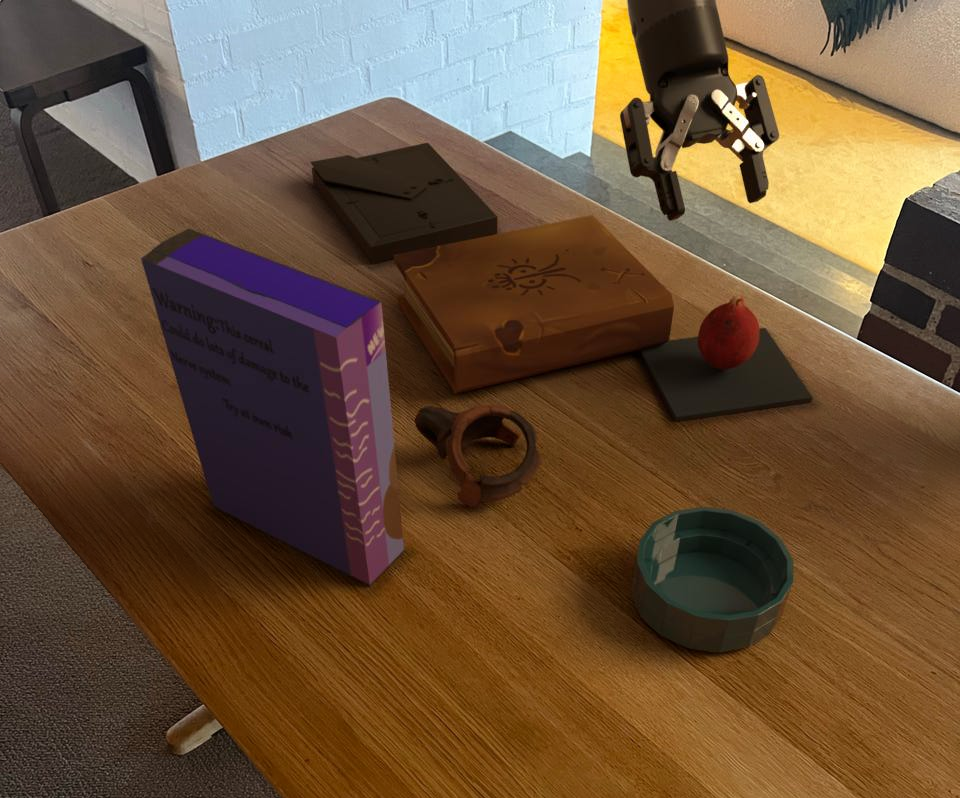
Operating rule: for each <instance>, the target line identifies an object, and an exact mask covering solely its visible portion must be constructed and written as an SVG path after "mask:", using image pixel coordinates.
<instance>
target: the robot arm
mask: <svg viewBox="0 0 960 798" xmlns="http://www.w3.org/2000/svg"><path fill="white" fill-rule="evenodd" d="M626 4H627V13H628V19H629V24H630V28H631V30H630V31H631V34H632V37H633V40H634V44H635V49H636V54H637V58H638V61H639V65H640V70H641V73H642V78H643V82H644V87H645V90H646V93H647V94H648V95H649V101H643V100H642V99H641V98H639V97H633V98H632V99H631V100H630V101H629V103H627V105H626V106H625V107H624V108H623V110H621V112H620V113H619V119H620V124H621V130H622V136H623V140H624V146H625V151H626V156H627V162H628V167H629V172H630V174H631V176H632V177H633V178H640V177H645V178H649V179H651V181H653V184H654V188H655V193H656V197H657V200H658V203H659V204H658V205H659V209H660V212H661V213H662V215H663V216H666V218H667V220H668V221H670V222H671V221H676V220H678V219H679V218H681V217H682V216H683V215H684V214H685V212H686V207H685V202H684V198H683V194H682V191H681V186H680V182H679V178H678V173H677V170H673V167H674V166H675V161H676V159H677V157H678V154H679V151H680V149H686V148H691V147H692V146H694V145H696V144H701V145H702V144H703V145H706V144H710V143H711V144H712V143H714V141H715V142H717V144H719V145H720V146H721V147H722V148H724V149H729V150H730V151H731V153H733V154H734V155H735V156H736V157H737V158H738V159H739V160H740V161H741V163H740V164H739V165H738V166H739V170H740V174H741V179H742V183H743V188H744V191H745V196H746V200H747V203H749V204H754V203H758V202H759V201H761V200H763V199H764V198H765V197H766V196H767V190H769V187H770V186H769V184H770V182H769V178H768V173H767V168H766V165H765V160H764V151H765V150H766V149H767V148H769V147H770V146H771V145H773V144H774V143H775V142H777V141H778V140H779V138H780V131H779V128H778V124H777V121H776V117H775V114H774V110H773V107H772V102H771V100H770V95H769V91H768V88H767V84H766V81H765V79H764V77H763V76H762V75H761V74H756V75H755V76H753V77H752V78H750V80H748V81H745V82H741V83H738V84H735V83H734V81H733V80H732V79H731V77H730V73H729V54H728V50H727V46H726V45H727V44H726V41H725V37H724V32H723V28H722V23H721V19H720V14H719V10H718V6H717V1H716V0H626ZM736 102H737V103H738V108H739V109H740V110H743V112H744V115H743V114H742V113H741V112H740V111H739V110H738V109H737V108H736V107H735V105H736ZM651 120H652V121H653V123H655V124H656V125H657V126H658V128H660V129H661V130H662V133H661V136H660V139H659V141H658V143H657V146H656V149H655V151H654V154H653V150H652V144H651V139H650V132H649V128H648V125H650V122H651ZM728 125H729V126H730V127H731V129H728ZM654 155H655V156H654Z"/></svg>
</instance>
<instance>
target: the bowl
mask: <svg viewBox="0 0 960 798" xmlns="http://www.w3.org/2000/svg"><path fill="white" fill-rule="evenodd" d="M632 576H633V578H632V585H631V592H630V593H631V597H632V599H633V602H634V604H635V607H636V609H637V612H638V614H639V616H640V618H641V619H642V620H643V621H644V622H645V623H647V625H649V627H650V628H652V629H653V630H654V631H655V633H657V635H659V636H661V637H663V638H664V639H667V640H669V641H671V642H674V643H676V644H678V645H680V646H683V647H685V648H686V649H690V650H697V651H705V652H712V653H724V652H730V651H736V650H741V649H747V648H750V647H751V646H753V645H755V644H756V643H758V642H760V641H761V640H763V639H765V638H766V637H768V636H770V635H771V634H772V632H773V631H774V630H775V629H774V628H775V627H776V625H777V623H778V622H779V621H780V619H781V618H782V616H783V613H784V610H785V608H786V604H787V601H788V599H789V596H790V593H791V590H792V588H793V585H794V580H795V577H794V559H793V557H792V555H791V553H790V551H789V550H788V548H787V546H786V545H785V542H784V541H783V539H782V538H781V537H780V536H779V535H778V534H777V533H775V532H774V531H773V530H771V528H769V527H768V526H767V525H765V524H764V523H763V522H762V521H760V520H759V519H757V518H756V519H755V518H753V517H751V516H748V515H745V514H743V513H740V512H738V511H737V510H734V509H729V508H728V509H727V508H718V507H710V506H697V507H691V508H685V509H684V508H683V509H679V510H674V511H672V512H670V513H668V514H666V515H664V516H663V517H661V518H659V519H657V520H655V521H654V522H652V523H651V525H650V526H649V527H648V528H647V530H646V531H645V532H644V533H643V535H642V537H641V538H640V539H639V541H638V545H637V552H636V558H635V563H634V570H633V575H632Z"/></svg>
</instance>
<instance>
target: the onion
mask: <svg viewBox="0 0 960 798" xmlns="http://www.w3.org/2000/svg"><path fill="white" fill-rule="evenodd" d="M745 301H746V299H745V298H744V297H743V296H742V295H741V294H737V295H733V297H732V298H730V300H729V301H728V302H726V303H722V304H720V305H718V306H715V307H714V308H713V309H712V310H710V312H709V313H708V314H707V315H706V316H705V317H704V319H703V320H702V322H701V324H700V327H699V330H698V335H697V337H698V347H699V350H700V352H701V354H702V356H703V358H704V359H705V360H706V362H708V363H709V364H710V365H711V366H713V367H715V368H717V369H720V370H726V369H730V368H735V367H737V366H739V365H741V364H742V363H744V362H746V361H747V360H748V359H749V358H750V357H751V356H752V355H753V353H754V352H755V350H756V348H757V346H758V343H759V330H760V323H759V321H758V318H757V316H755V314H754V313H753V312H752V310H751V309H750V308H749V307H748V306H746V305H744V303H745Z"/></svg>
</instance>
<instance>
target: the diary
mask: <svg viewBox="0 0 960 798" xmlns="http://www.w3.org/2000/svg"><path fill="white" fill-rule="evenodd" d="M393 262H394V263H393V264H394V265H395V266H396V268H397V269H398V271H399V272H400V274H401V276H402V277H403V287H404V288H403V289H404V294H400V295H397V296H396V298H397V299H396V301H397V305H398V306H399V308H400V310H401V311H402V313H403V314H404V316H405V318H406V319H407V320H408V322H409V324H410V325H411V327H412V328H413V330H414V331H415V333H416V334H417V336H418V338H419V339H420V341H421V342H422V344H423V346H424V347H425V349H426V350H427V352H428V354H429V355H430V356H431V359H433V361H434V363H435V364H436V366H437V368H438V369H439V371H440V372H441V374H442V375H443V377H444V379H445V381H446V382H447V383H448V385H449V386H450V388H451V390H452V391H453V393H454V394H455V395H456V394H460V393H464V392H465V393H466V392H468V391H473V390H478V389H481V388H485V387H491V386H494V385H498V384H502V383H507V382H511V381H514V380H519V379H523V378H527V377H532V376H536V375H539V374H544V373H548V372H553V371H556V370H559V369H564V368H565V369H566V368H568V367H573V366H577V365H582V364H586V363H590V362H594V361H598V360H603V359H607V358H611V357H614V356H619V355H623V354H628V353H631V352H632V353H633V352H636V351H638V350H640V349H645V348H649V347H653V346H657V345H661V344H665V343H666V342H667V341H670V338H671V329H672V324H673V318H674V317H673V316H674V311H675V305H674V304H675V303H674V300H673V295H672V293H671V292H670V291H669V290H668V289H667V288H666V287H665V286H664V284H662V283H661V282H660V281H659V280H658V279H657V278H656V277H655V276H654V275H653V273H651V272H650V271H649V270H648V268H647V267H645V266H644V264H642V262H640V261H639V260H638V259H637V258H636V256H634V255H633V254H632V253H631V251H629V250H628V249H627V247H625V245H623V243H622V242H621V241H620V240H619V239H617V237H615V235H613V233H611V231H610V230H608V228H606V226H605V225H603V223H601V221H600V220H599V219H598V218H597V217H596V216H595V215H594V214H590V215H585V216H580V217H575V218H570V219H565V220H561V221H555V222H550V223H546V224H540V225H535V226H530V227H525V228H521V229H520V228H519V229H515V230H511V231H505V232H500V233H496V234H492V235H488V236H484V237H480V238H476V239H471V240H466V241H461V242H456V243H451V244H446V245H441V246H436V247H431V248H426V249H421V250H416V251H411V252H406V253H401V254H396V255H394V259H393Z"/></svg>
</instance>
